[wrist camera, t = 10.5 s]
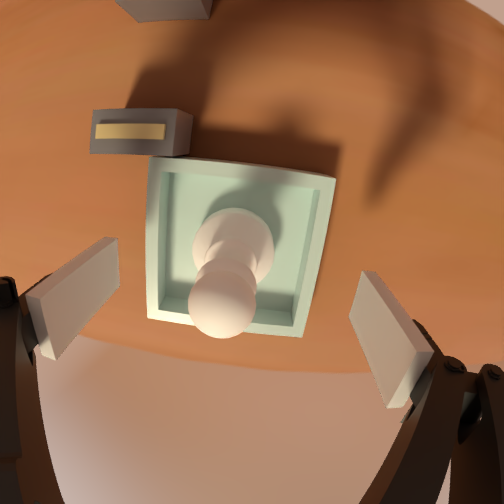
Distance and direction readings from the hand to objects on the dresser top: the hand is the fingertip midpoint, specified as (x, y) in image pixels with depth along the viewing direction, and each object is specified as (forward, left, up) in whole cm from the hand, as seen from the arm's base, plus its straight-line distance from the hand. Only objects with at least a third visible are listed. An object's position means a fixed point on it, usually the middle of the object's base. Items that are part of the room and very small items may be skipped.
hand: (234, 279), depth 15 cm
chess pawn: (0, 0, -5) cm, 5 cm away
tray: (0, 0, -6) cm, 6 cm away
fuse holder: (+6, -11, -6) cm, 14 cm away
